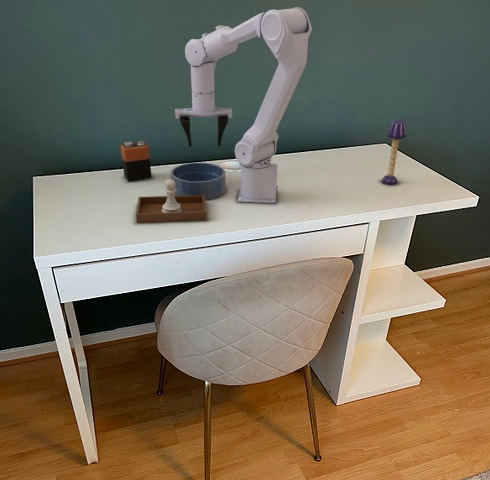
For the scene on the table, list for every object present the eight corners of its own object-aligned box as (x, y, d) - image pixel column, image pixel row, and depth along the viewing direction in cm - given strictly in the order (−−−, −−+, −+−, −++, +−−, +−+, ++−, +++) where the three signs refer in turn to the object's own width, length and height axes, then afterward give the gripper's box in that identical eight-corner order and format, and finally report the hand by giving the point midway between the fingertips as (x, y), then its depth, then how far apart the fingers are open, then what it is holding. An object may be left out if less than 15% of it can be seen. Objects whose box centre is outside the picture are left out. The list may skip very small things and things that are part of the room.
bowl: (227, 180, 139) (227, 163, 136) (222, 201, 127) (222, 183, 124) (176, 179, 140) (175, 161, 137) (167, 199, 128) (165, 181, 125)
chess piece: (176, 205, 124) (174, 174, 120) (185, 212, 121) (183, 180, 116) (158, 209, 122) (156, 178, 117) (167, 216, 119) (164, 184, 114)
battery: (124, 176, 140) (119, 141, 135) (147, 173, 143) (144, 138, 137) (127, 182, 137) (123, 146, 131) (152, 178, 140) (148, 143, 134)
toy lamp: (378, 183, 139) (388, 122, 130) (381, 177, 143) (391, 118, 134) (395, 186, 138) (407, 124, 129) (398, 180, 142) (409, 120, 132)
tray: (204, 202, 127) (204, 194, 125) (206, 220, 118) (206, 212, 117) (139, 204, 125) (138, 196, 124) (136, 223, 116) (135, 214, 115)
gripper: (230, 87, 130) (230, 139, 138) (174, 88, 129) (177, 140, 136) (232, 94, 124) (232, 148, 132) (174, 94, 123) (177, 149, 130)
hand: (204, 145), depth 134 cm, fingers open, 7 cm apart
